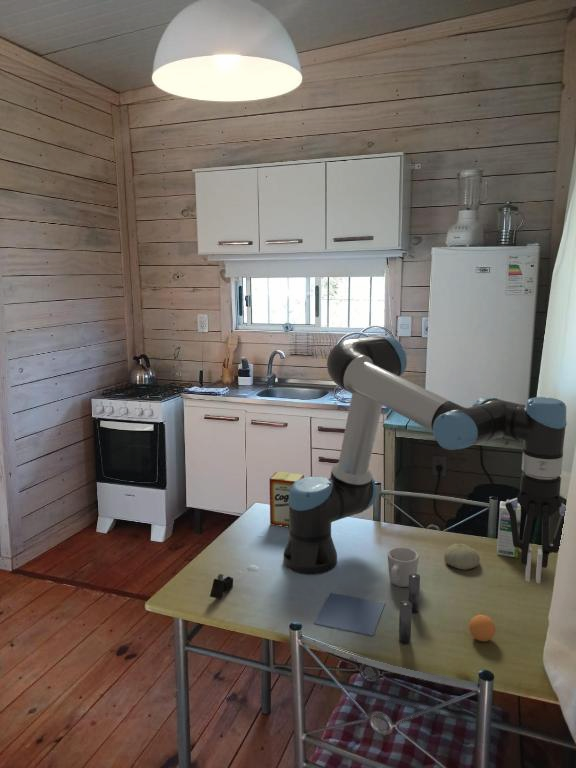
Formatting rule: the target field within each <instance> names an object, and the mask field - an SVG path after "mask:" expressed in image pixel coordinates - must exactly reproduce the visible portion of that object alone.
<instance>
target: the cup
mask: <svg viewBox="0 0 576 768" xmlns="http://www.w3.org/2000/svg"><path fill="white" fill-rule="evenodd" d="M419 559H420V556H419V554H418V552H417V551H416V550H414V549H411V548H408V547H403V546H402V547H400V546H399V547H395V548H394V547H393V548H391V549H390V550H389V551H388V552H387V563H388V564H387V565H388V575H389V576H388V577H389V580H390V582H391V583H392V584H393V585H394V586H397V587H399V588H409V575H410V574H412V573H415V574H418V573H417V572H418V565H419Z"/></svg>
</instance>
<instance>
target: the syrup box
mask: <svg viewBox="0 0 576 768" xmlns="http://www.w3.org/2000/svg"><path fill="white" fill-rule="evenodd" d="M505 504H506V501H502V500H501V501H499V511H498V512H499V514H498V516H499V517H498V531H497V543H496V544H497V545H496V555H498V556H505V557H511V558H512V557H513V558H516V559H517V558H518V557H519V548H518V547H514V546H513V539H512V531H511V522H510V514H509V512H508V510H507V508H506V506H505ZM516 517H517V525H518V534H519V535H520V531H521V530H520V528H521V517H522V507H521V506H520V504H518V505H517V510H516Z"/></svg>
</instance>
